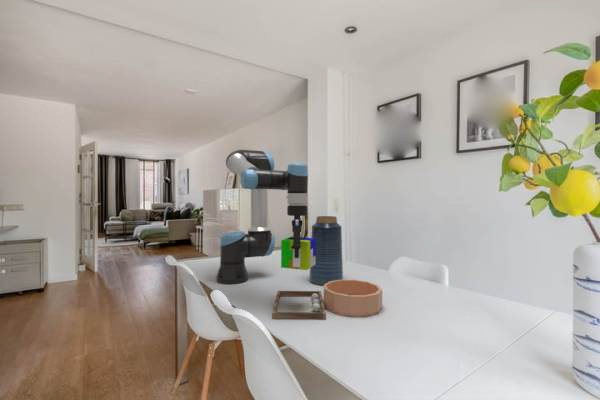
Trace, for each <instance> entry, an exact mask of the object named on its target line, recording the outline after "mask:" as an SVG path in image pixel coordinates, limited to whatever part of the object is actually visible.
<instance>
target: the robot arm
mask: <svg viewBox="0 0 600 400" xmlns="http://www.w3.org/2000/svg"><path fill="white" fill-rule="evenodd" d="M225 165H226V168H227V169H228V170H229V171H230V172H231V173H232V174H235V175H238V177H239V178H240V179H239V180H240V184H241V185H240V186H241V187H242V189H247V190H249V189H250V227H249V228H248V230H247V233H246V232H245V231H242V230H241V231H231V232H227V233H224V234H221V237H220V242H219V243H220V244H219V247H220V259H219V263H220V265H219V268H218V271H217V273H216V274H217V275H216V282H217V283H219V284H222V285H236V284H241V283H245V282H247V281H248V280H249V274H248V271H247V266H246V264H245V262H246V261H245V260H246V259H245V258H258V257H262V258H263V257H268V256H271V254H273V252H274V250H275V247H276V246H275V245H276V238H275V237H276V236H275V234H274V233H273V232H272V229H271V228H270V227H269V222H268V220H269V217H268V215H269V213H268V207H269V206H268V190H281V191H287V195H286V196H285V199H287V204H288V205H287V207H286V208H287V209H286V210H287V212H286V214H287V215H288V216H290V217H291V216H293V219H292V220H291V226H292V231H291V232H292V233H293V234H292V235H293V236H292V237H293V246H291V249H293V267H300V257H301V245H300V237H301V232H303V231H302V230H303V220H302V217H306V216H308V206H307V204H309V203H308V201H309V199H308V198H309V197H308V196H309V195H308V194H309V193H308V185H309V182H308V181H309V173H308V171H309V170H308V164H306V163H300V162H296V163H295V162H293V163H289V164H288V166H287V170H275V159H274V157H273V155H272V153H270V152H269V151H264V150H252V149H251V150H250V149H248V150H247V149H237V150H234V151H232V152H230V153H229V154H228V155H227V157H226V159H225Z"/></svg>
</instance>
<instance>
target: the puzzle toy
mask: <svg viewBox="0 0 600 400" xmlns="http://www.w3.org/2000/svg"><path fill="white" fill-rule="evenodd" d="M280 243H281V245H280V247H281V249H280V250H281V251H280V252H281V253H280V254H281V255H280V257H281V261H280V262H281V263H280V268H282V269H289V270H302V271H308V270H310V268H311V267H312V266H314V265H315V259H316V238H311V237H304V236H303V237H302V236H300V245H301V257H300V267H293V249H291V246H293V236H290V237H288V238H287V237H286V238H285V239H284V238H283V239H281V242H280Z"/></svg>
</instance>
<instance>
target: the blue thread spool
mask: <svg viewBox="0 0 600 400" xmlns="http://www.w3.org/2000/svg"><path fill="white" fill-rule="evenodd" d="M337 217H338V216H332V215H331V216H330V215H326V216H325V215H320V216H319V215H318V216H316V219H315V223H314V224H312V226H311V237H310V238H316V259H315V265H314V266H312V267H311V268H310V269H309V278H308V279H309V281H310V282H311V283H312V284H314V285H318V286H324V284H326V283H328V282H329V281H335V280H344V275H343V274H344V271H343V270H344V269H343V265H344V264H343V263H344V262H343V244H342V243H343V241H342V240H343V239H342V238H343V237H342V236H343V235H342V231H343V230H342V228H343V226H342V225H340V224H339V223H338V218H337Z"/></svg>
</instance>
